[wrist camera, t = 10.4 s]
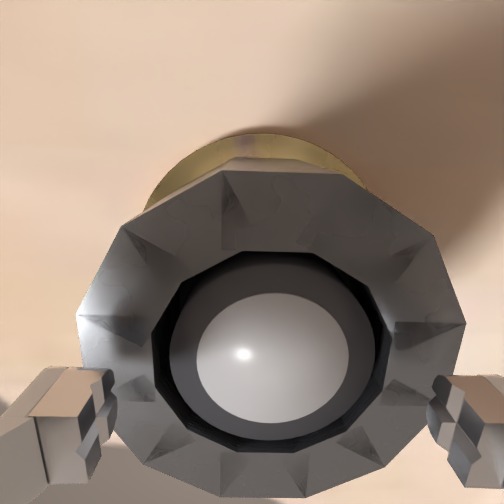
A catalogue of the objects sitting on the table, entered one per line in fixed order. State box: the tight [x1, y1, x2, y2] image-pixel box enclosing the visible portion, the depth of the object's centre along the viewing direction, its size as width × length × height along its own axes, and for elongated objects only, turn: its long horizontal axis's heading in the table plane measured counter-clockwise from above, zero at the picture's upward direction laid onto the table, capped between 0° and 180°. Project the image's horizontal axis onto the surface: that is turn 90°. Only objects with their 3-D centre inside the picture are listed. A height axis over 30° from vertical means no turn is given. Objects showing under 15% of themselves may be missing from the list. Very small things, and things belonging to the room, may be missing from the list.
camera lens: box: [169, 251, 375, 440], centre depth 12 cm, size 6×6×4 cm
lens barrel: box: [76, 133, 466, 498], centre depth 14 cm, size 13×13×9 cm
